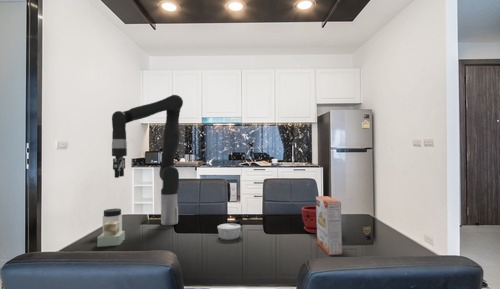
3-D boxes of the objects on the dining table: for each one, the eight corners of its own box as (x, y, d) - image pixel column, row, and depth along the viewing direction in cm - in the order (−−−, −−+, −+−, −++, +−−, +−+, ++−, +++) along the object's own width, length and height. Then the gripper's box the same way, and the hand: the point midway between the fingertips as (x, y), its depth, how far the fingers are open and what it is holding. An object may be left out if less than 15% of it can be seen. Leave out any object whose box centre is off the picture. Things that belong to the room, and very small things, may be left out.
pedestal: (124, 239, 134) (124, 230, 134) (119, 245, 125) (119, 236, 126) (104, 240, 133) (104, 231, 133) (97, 246, 124) (97, 237, 124)
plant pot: (330, 229, 147) (329, 205, 147) (325, 235, 135) (325, 210, 135) (305, 226, 152) (305, 204, 153) (299, 232, 140) (298, 208, 141)
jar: (103, 236, 139) (103, 212, 139) (101, 233, 145) (101, 209, 146) (123, 233, 144) (123, 210, 144) (120, 230, 150) (120, 207, 151)
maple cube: (119, 232, 132) (119, 221, 132) (115, 235, 127) (115, 224, 127) (107, 232, 131) (107, 221, 132) (103, 235, 126) (103, 224, 127)
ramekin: (244, 234, 139) (244, 224, 139) (235, 241, 129) (235, 229, 129) (223, 232, 143) (223, 222, 143) (213, 239, 132) (213, 228, 132)
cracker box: (316, 244, 123) (315, 196, 124) (329, 243, 123) (328, 195, 124) (327, 255, 109) (326, 201, 110) (342, 255, 110) (341, 201, 110)
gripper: (122, 147, 149) (122, 178, 149) (129, 147, 163) (129, 175, 163) (107, 147, 148) (107, 178, 147) (116, 148, 162) (116, 176, 162)
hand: (119, 177), depth 155 cm, fingers open, 8 cm apart
